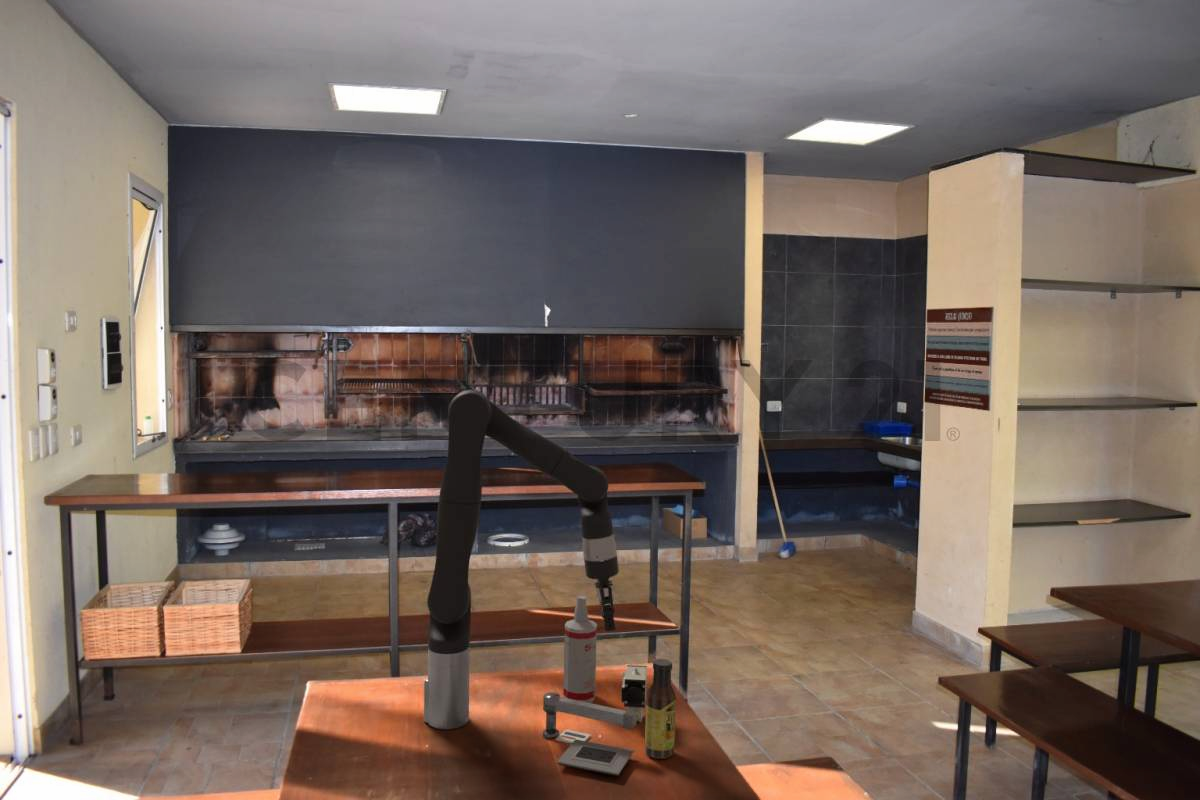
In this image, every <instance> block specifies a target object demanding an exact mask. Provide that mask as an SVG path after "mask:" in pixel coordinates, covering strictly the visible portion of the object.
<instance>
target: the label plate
mask: <svg viewBox="0 0 1200 800" xmlns="http://www.w3.org/2000/svg"><path fill="white" fill-rule="evenodd" d="M591 736H592V734H589V733H585V732H580V731H576V730H571V729H567V728H566V729H564V731H563V732H562V733H559V736H558V737H557V738H556V739H555V741H557V742H561V743H565V744H567V743H568V744H570V745H571V744H572V743H573V742H574V740H575V739H576V740H582V741H587V742H588V740H589V739H590V738H591Z"/></svg>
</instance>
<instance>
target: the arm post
mask: <svg viewBox="0 0 1200 800" xmlns="http://www.w3.org/2000/svg"><path fill="white" fill-rule="evenodd" d="M545 719H546V720H545V729H543V730H542V737H543V738H544V739H545V740H556V738H557V737H558V736H559V735H560V730H559V729H557V712H554V713H549V712H546V714H545Z"/></svg>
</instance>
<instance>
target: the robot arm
mask: <svg viewBox="0 0 1200 800" xmlns="http://www.w3.org/2000/svg"><path fill="white" fill-rule="evenodd" d="M447 411H448V412H447V417H448V437H447V438H448V442H447V443H448V445H447V456H446V461H445V465H444V469H443V473H442V479H441V483H440V489H439V490H440V491H439V495H438V503H437V504H438V505H437V513H436V514H437V515H436V516H437V518H436V533H435V535H436V537H435V543H436V544H435V547H436V549H435V550H436V552H435V554H436V555H435V564H434V569H433V574H432V579H431V584H430V588H429V592H428V594H427V599H426V600H427V601H426V603H427V604H426V605H427V608H428V611H429V627H428V637H427V638H428V639H427V640H428V641H427V647H428V648H427V649H428V651H427V654H428V655H427V660H428V661H427V679H424V682H423V722H425V723H427V724H428V725H429V726H431V727H432V728H434V729H438V730H452V729H458V728H461V727H463V726H465V725H466V724H467V723H469V720H470V663H471V662H470V661H471V660H470V656H471V655H470V653H471V652H470V651H471V650H470V649H471V645H470V644H471V628H472V627H471V620H472V619H471V618H472V592H471V591H472V590H471V586H470V584H469V569H470V562H471V561H470V560H471V556H472V553H473V552H472V551H473V548H474V544H475V540H476V536H477V531H478V528H479V527H478V526H479V523H480V522H479V521H480V513H481V508H482V507H481V504H482V497H483V496H482V495H483V493H482V492H483V491H482V490H483V477H482V473H483V471H482V455H483V447H484V443H485V439H486V437H488V438H490V439H492V440H494V441H496V442H497V443H499V444H501V445H502V446H504V447H505V448H507V450H509V451H511V452H512V453H513V454H514V455H516V456H517V457H519V459H521V460H522V461H524V462H526V464H528V465H529V466H531V467H533V468H534V469H535V470H538V471H539V472H541V473H542V474H544V475H546V476H548V477H550V478H552V479H553V480H556V481H557V482H558V483H560V484H561V485H563V486H564V487H566V488H567V489H568V490H569V491H571V492H572V493H574V494H575V495H577V500H578V505H579V511H580V528H581V534H582V554H583V561H584V562H583V563H584V570H585V576H586V577H587V578H588V579H591V580H596V581H595V582H594V588H595V593H596V597H597V599H598V605H599V606H600V611H601V617H602V619H603V622H604V624H603V625H604V630H605V631H606V632H611V631H615V629H616V625H615V618H614V617H615V616H614V614H615V612H616V611H615V608H614V604H615V596H614V585H613V584H614V583H613V581H612V580H611V579H610V578H614V577H616V576H617V575H618V574H619V572H620V570H619V559H618V553H617V552H618V551H617V545H616V540H615V536H614V528H613V520H612V515H611V512H610V511H611V510H610V509H609V502H608V490H609V481H608V478H607V476H606V474H605V473H604V471H603V470H602V469H600V468H599V467H597V466H595V465H588V464H586V463H584V462H583V461H581V460H580V459H578V458H576V457H575V456H574V455H573V454H572V453H571V452H570V451H569V450H567V449H565V448H564V447H562V446H560V445H559V444H557V443H556V442H553V441H552V440H550V439H549V438H547V437H545V436H544V435H541V434H539V433H538V432H536V431H534V430H532V429H531V428H529V427H527V426H525V425H524V424H522V423H520V422H518V421H517V420H515V419H514V418H512V416H510V415H508V414H507V413H506V412H504V411H503V410H502V409H501V408H499V407H498V406H497V405H496V404H495V403H494V402H492V401H491V400H490V399H489V398H488V397H487V396H486V395H485V394H484V393H483V392H481V391H478V390H475V389H466V390H463V391H461V392H459V393H458V394H456V395H455V396H454V397H453V398H452V399H451V401H450V403H449V406H448V410H447Z"/></svg>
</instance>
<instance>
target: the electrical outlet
mask: <svg viewBox="0 0 1200 800" xmlns="http://www.w3.org/2000/svg"><path fill="white" fill-rule="evenodd" d="M634 752H635V750H634V749H630V748H625V747H618V746H615V745H614V746H613V745H607V744H602V743H598V742H592V741H588V740H587V741H582V740H576V739H575V740H574V742H573V743H572V744H570V745H569V747H568V748H567V749H566V750H565V751H564V753H562V755H561V756H560V757H559V759H558V760H557V761H556V764H557V765H560V766H563V767H568V768H573V769H577V770H584V771H589V772H592V773H593V772H594V773H598V774H603V775H608V776H609V775H610V776H614V777H617V776H619V775H620V773H622V770H623V768H624V767H625V766H626V764H627V763H628V762H629V760H630V759H631V757H632V755H633V754H634Z"/></svg>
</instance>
